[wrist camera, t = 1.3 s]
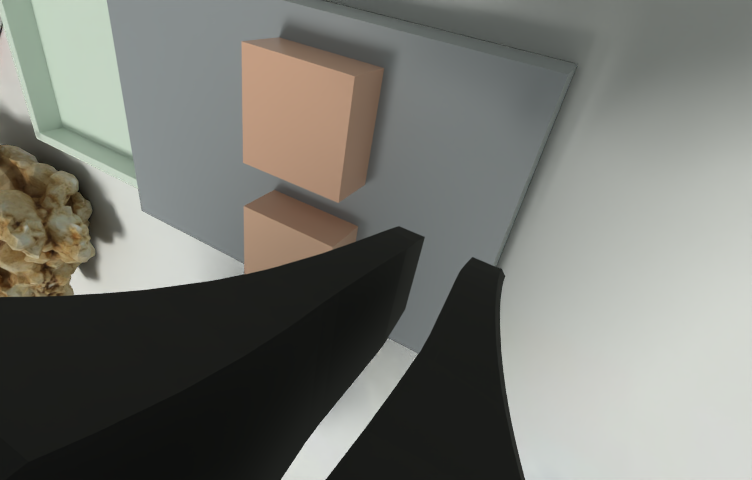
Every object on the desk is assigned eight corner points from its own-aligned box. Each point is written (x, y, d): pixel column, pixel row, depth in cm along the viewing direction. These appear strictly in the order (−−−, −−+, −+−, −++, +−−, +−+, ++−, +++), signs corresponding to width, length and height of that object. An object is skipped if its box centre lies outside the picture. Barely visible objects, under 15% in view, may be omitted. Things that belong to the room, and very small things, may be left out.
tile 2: (365, 184, 17) (338, 203, 16) (275, 149, 19) (242, 162, 17) (384, 68, 15) (354, 76, 13) (279, 37, 16) (241, 41, 15)
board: (467, 336, 21) (451, 370, 19) (176, 195, 28) (141, 210, 26) (577, 64, 14) (568, 74, 12) (149, -44, 20) (98, -48, 18)
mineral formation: (93, 295, 40) (-28, 173, 39) (154, 215, 34) (11, 64, 32) (2, 347, 34) (-150, 202, 32) (56, 260, 27) (-131, 71, 25)
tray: (174, 181, 27) (146, 193, 26) (67, 131, 30) (36, 138, 29) (149, -44, 20) (109, -47, 19) (14, -78, 24) (-29, -83, 22)
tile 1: (345, 303, 21) (322, 327, 19) (271, 266, 22) (244, 286, 21) (358, 226, 18) (332, 247, 17) (274, 189, 20) (243, 205, 18)
